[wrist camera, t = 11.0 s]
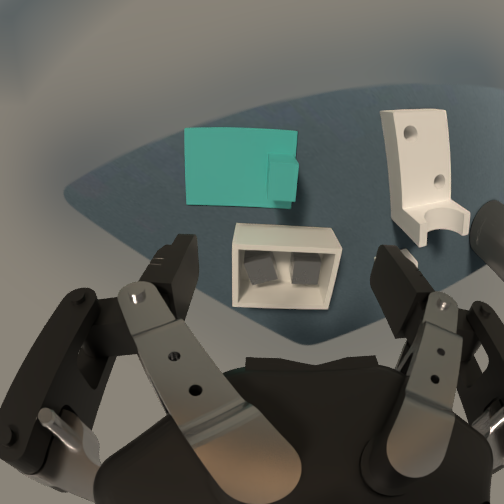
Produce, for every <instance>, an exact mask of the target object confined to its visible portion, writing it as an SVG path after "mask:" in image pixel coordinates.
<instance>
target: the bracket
mask: <svg viewBox="0 0 504 504" xmlns="http://www.w3.org/2000/svg"><path fill="white" fill-rule="evenodd" d="M380 116H381V121H382V127H383V134H384V141H385V148H386V156H387V164H388V174H389V186H390V201H391V219H392V220H393V221H394V222H395V223H396V224H397V225H398V226H399V227H400V228H401V229H402V230H403V231H404V232H405V233H406V234H407V235H408V236H409V237H410V238H411V239H412V240H413V241H414V242H415V244H416V245H417V246H418V247H423V246H426V245H427V232H429V231H431V230H435V229H448V230H452V231H455V232H457V233H459V234H461V235H462V236H463V235H467V234H468V231H469V221H470V212H469V211H467V210H466V209H464V208H463V207H461V206H460V205H459V204H457V203H456V202H454V201H452V200H451V164H450V145H449V133H448V124H447V115H446V110H439V109H410V110H409V109H402V110H388V111H380Z"/></svg>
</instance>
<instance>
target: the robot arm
mask: <svg viewBox="0 0 504 504" xmlns="http://www.w3.org/2000/svg"><path fill="white" fill-rule="evenodd" d="M470 244H471V248H472V249H473V251H474V252H475V253H476V254H477V255H478V256H479V257H480V258H481V259H482V260H483V261H484V262H485V263H486V264H487V265H488V266H489V267H490V268H491V269H492V270H493V271H494V272H495V273H496V274H497V275H498V276H499V277H500V278H501V279H502V280H503V281H504V204H502V203H501V202H499V201H496V200H492V201H489V202H487V203H486V204H485V205H483V207H482V208H481V209H480V210H479V211H478V213H477V215H476V217H475V218H474V221H473V224H472V227H471V231H470ZM198 277H199V260H198V246H197V236H196V235H195V234H178V235H177V237H176V238H175V240H174V242H173V243H172V245H165V246H163V247H162V248H161V249H159V250H158V251H157V252H156V254H155V255H154V257H153V259H152V260H151V262H150V264H149V265H148V267H147V268H146V270H145V271H144V273H143V275H142V276H141V278H140V280H139V281H138V282H133V283H130V284H128V285H126V286H125V287H123V288H122V289H121V290H120V291H119V293H118V296H117V297H115V298H107V299H97V296H96V293H95V291H93V290H92V289H90V288H79V289H75V290H73V291H71V292H70V293H68V294H67V295H66V296H65V297H64V298H63V300H62V301H61V302H60V304H59V305H58V307H57V308H56V310H55V311H54V313H53V314H52V316H51V317H50V319H49V320H48V322H47V323H46V325H45V326H44V328H43V330H42V331H41V333H40V334H39V336H38V338H37V339H36V341H35V343H34V344H33V346H32V348H31V349H30V351H29V353H28V355H27V356H26V358H25V360H24V362H23V363H22V365H21V367H20V369H19V371H18V373H17V375H16V377H15V379H14V380H13V382H12V384H11V386H10V388H9V391H8V393H7V395H6V397H5V399H4V402H3V403H2V406H1V408H0V458H1V459H2V460H4V461H5V462H6V463H8V464H10V465H11V466H13V467H14V468H16V469H17V470H18V471H19V472H21V473H22V474H24V475H26V476H28V477H29V478H31V479H33V480H35V481H37V482H39V483H41V484H43V485H45V486H49V487H51V488H53V489H55V490H57V491H60V492H70V493H72V494H74V495H77V496H79V497H81V498H84V499H86V500H89V501H92V502H94V503H95V504H490V486H491V477H492V474H494V473H496V472H497V471H499V470H501V469H502V468H504V324H503V323H502V322H501V320H500V318H499V317H498V315H497V314H496V313H495V311H494V310H493V309H492V308H491V307H490V306H489V305H488V304H486V303H484V302H481V301H475V302H474V303H473V304H472V306H471V308H470V310H469V311H468V310H463V309H459V308H458V305H457V303H456V301H455V300H454V299H453V298H452V297H450V296H449V295H447V294H445V293H443V292H438V291H434V289H433V288H432V287H431V285H430V284H429V283H428V281H427V280H426V278H425V277H424V276H423V275H422V273H421V272H420V271H419V269H418V268H417V267H416V265H415V264H414V263H413V262H412V261H410V260H409V259H408V258H406V257H405V256H404V254H403V253H402V252H401V251H400V249H399V248H398V247H397V246H393V245H380V246H379V248H378V251H377V255H376V258H375V262H374V265H373V269H372V272H371V276H370V285H371V288H372V290H373V292H374V294H375V296H376V298H377V300H378V302H379V304H380V306H381V309H382V311H383V313H384V315H385V317H386V319H387V321H388V324H389V326H390V328H391V330H392V332H393V334H394V337H395V339H397V338H407V341H406V343H405V344H404V346H403V349H402V352H401V354H400V357H399V359H398V362H397V365H396V367H395V369H392V368H390V367H386V366H382V365H378V362H377V359H376V356H375V355H374V356H360V357H346V358H343V359H339V360H336V361H332V362H328V363H324V364H320V365H310V364H305V363H300V362H295V361H290V360H285V359H281V358H280V359H279V358H253V357H246V364H245V365H246V366H245V367H241V368H237V369H233V370H230V371H227V372H224V373H222V372H221V371H220V370H219V368H218V367H217V366H216V365H215V363H214V362H213V360H212V359H211V358H210V356H209V355H208V354H207V353H206V351H205V350H204V348H203V347H202V346H201V344H200V343H199V341H198V340H197V339H196V337H195V336H194V334H193V333H192V332H191V330H190V329H189V327H188V326H187V324H186V323H185V318H186V315H187V312H188V309H189V306H190V302H191V299H192V296H193V293H194V290H195V287H196V284H197V281H198ZM481 344H482V346H483V347H484V349H485V351H486V353H487V355H488V358H489V364H488V367H487V369H486V370H485V371H484V372H483V374H482V372H481V369H480V367H479V365H478V363H477V361H476V359H475V357H474V354H475V353H476V351H477V350H478V348H479V347H480V345H481ZM132 354H137V355H138V357H139V360H140V362H141V364H142V366H143V368H144V371H145V373H146V375H147V377H148V379H149V381H150V383H151V385H152V387H153V389H154V391H155V393H156V395H157V397H158V399H159V401H160V403H161V405H162V407H163V409H164V411H165V413H166V414H167V415H166V416H165V417H164V418H162V419H161V420H160V421H158V422H157V423H156V424H154V425H153V426H152V427H150V428H149V429H148V430H146V431H145V432H144V433H142V434H141V435H140V436H138V437H137V438H136V439H134V440H133V441H131V442H130V443H128V444H127V445H126V446H124V447H123V448H121V449H120V450H119V451H117V452H116V453H114V454H113V455H111V456H110V457H109V458H107V459H106V460H105V461H104V462H103V464H101V462H100V459H99V448H100V447H99V441H98V439H97V437H96V435H95V434H94V433H93V432H92V428H93V424H94V421H95V418H96V415H97V411H98V408H99V405H100V402H101V399H102V396H103V393H104V390H105V387H106V384H107V381H108V379H109V376H110V373H111V370H112V368H113V365H114V362H115V360H116V357H117V356H122V355H132ZM456 388H457V391H458V394H459V396H460V399H461V402H462V405H463V408H464V410H465V413H466V416H467V419H468V423H469V424H468V423H467V422H465V421H464V420H463V419H462V418H460V417H459V416H458V415H456V414H455V413H454V412H453V411H452V407H453V402H454V397H455V392H456Z"/></svg>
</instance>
